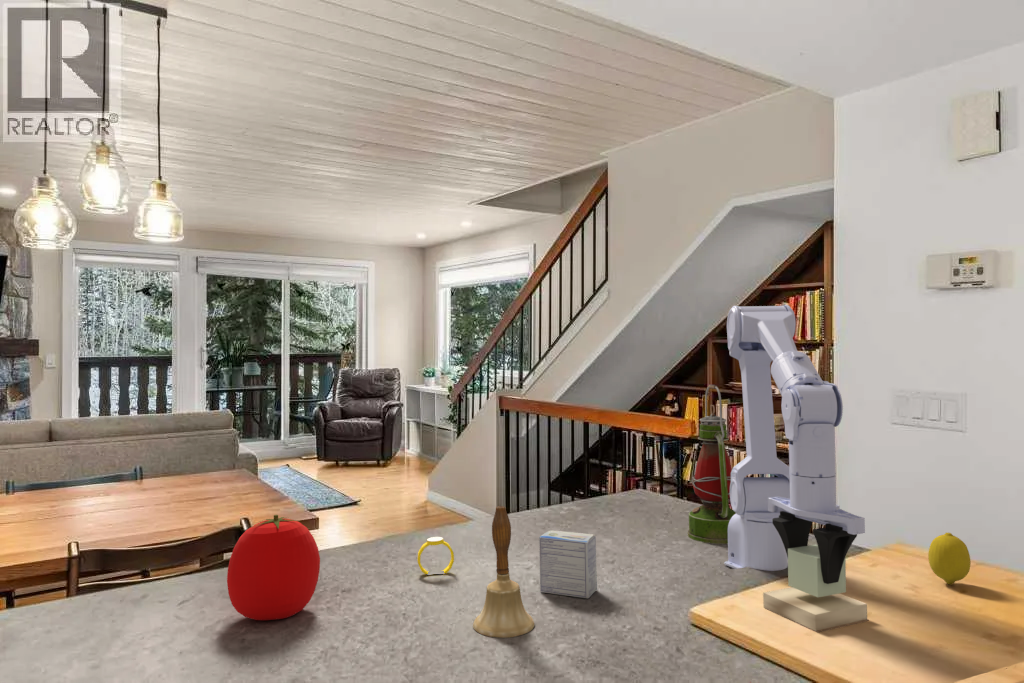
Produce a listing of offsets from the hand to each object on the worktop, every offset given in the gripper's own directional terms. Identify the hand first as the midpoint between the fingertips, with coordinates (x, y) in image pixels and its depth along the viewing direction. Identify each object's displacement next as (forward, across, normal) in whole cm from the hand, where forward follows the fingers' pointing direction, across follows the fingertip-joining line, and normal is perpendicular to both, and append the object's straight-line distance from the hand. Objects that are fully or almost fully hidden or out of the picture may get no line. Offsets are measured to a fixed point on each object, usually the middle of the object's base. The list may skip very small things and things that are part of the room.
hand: (814, 576), depth 92 cm
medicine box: (+7, +25, +24) cm, 35 cm away
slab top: (+5, 0, 0) cm, 5 cm away
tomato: (+6, +34, +66) cm, 75 cm away
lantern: (+6, +41, -17) cm, 45 cm away
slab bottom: (+7, 0, 0) cm, 7 cm away
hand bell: (+7, +17, +38) cm, 42 cm away
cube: (+2, 0, 0) cm, 2 cm away
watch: (+6, +42, +40) cm, 58 cm away
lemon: (+6, +3, -31) cm, 32 cm away
